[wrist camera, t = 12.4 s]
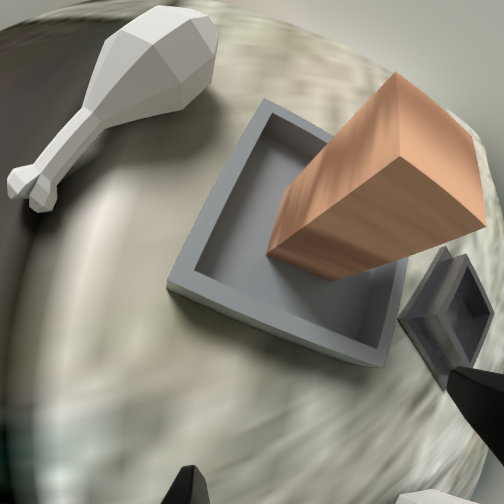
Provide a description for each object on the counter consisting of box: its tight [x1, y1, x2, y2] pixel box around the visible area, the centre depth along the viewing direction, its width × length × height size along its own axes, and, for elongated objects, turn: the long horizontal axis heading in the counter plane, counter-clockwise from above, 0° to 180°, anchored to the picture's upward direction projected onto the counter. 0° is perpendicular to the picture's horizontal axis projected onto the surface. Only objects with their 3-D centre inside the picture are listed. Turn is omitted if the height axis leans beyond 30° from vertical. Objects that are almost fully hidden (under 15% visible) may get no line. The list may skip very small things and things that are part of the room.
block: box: [265, 72, 486, 282], centre depth 14 cm, size 5×5×12 cm
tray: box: [166, 98, 408, 368], centre depth 19 cm, size 14×14×4 cm
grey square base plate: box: [397, 246, 494, 389], centre depth 22 cm, size 10×10×3 cm
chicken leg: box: [7, 6, 219, 213], centre depth 16 cm, size 8×18×8 cm, turn 146°
